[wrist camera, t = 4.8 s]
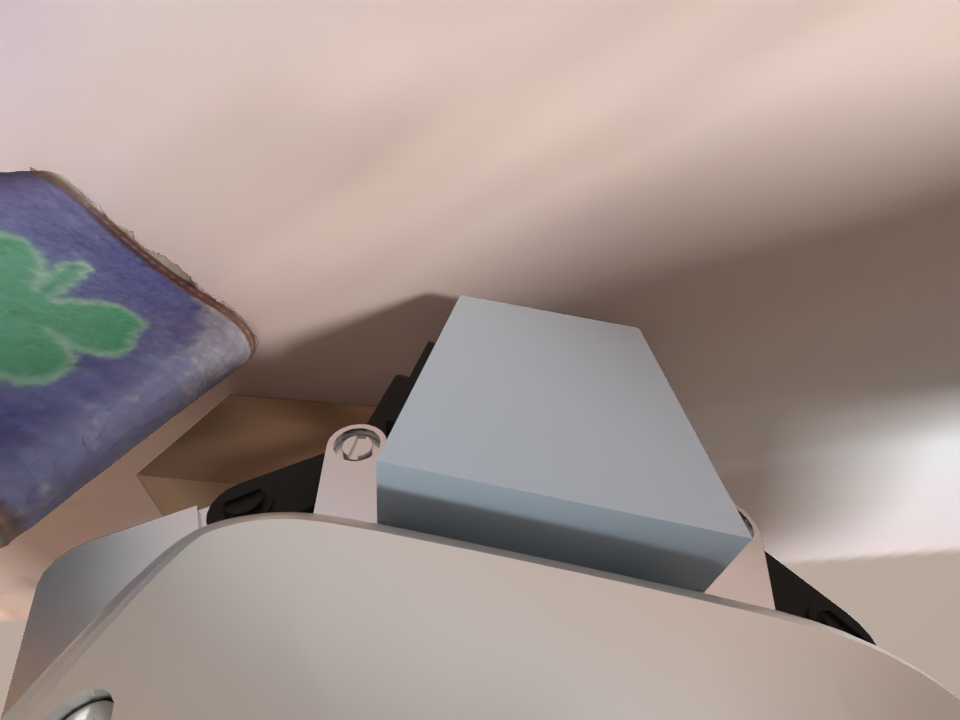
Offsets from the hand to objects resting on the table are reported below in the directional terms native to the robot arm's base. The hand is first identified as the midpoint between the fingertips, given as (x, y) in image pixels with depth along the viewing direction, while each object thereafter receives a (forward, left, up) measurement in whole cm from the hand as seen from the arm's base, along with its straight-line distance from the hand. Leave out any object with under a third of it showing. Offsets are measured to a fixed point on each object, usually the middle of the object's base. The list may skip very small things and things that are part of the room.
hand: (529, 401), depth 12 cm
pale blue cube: (0, 0, -1) cm, 1 cm away
